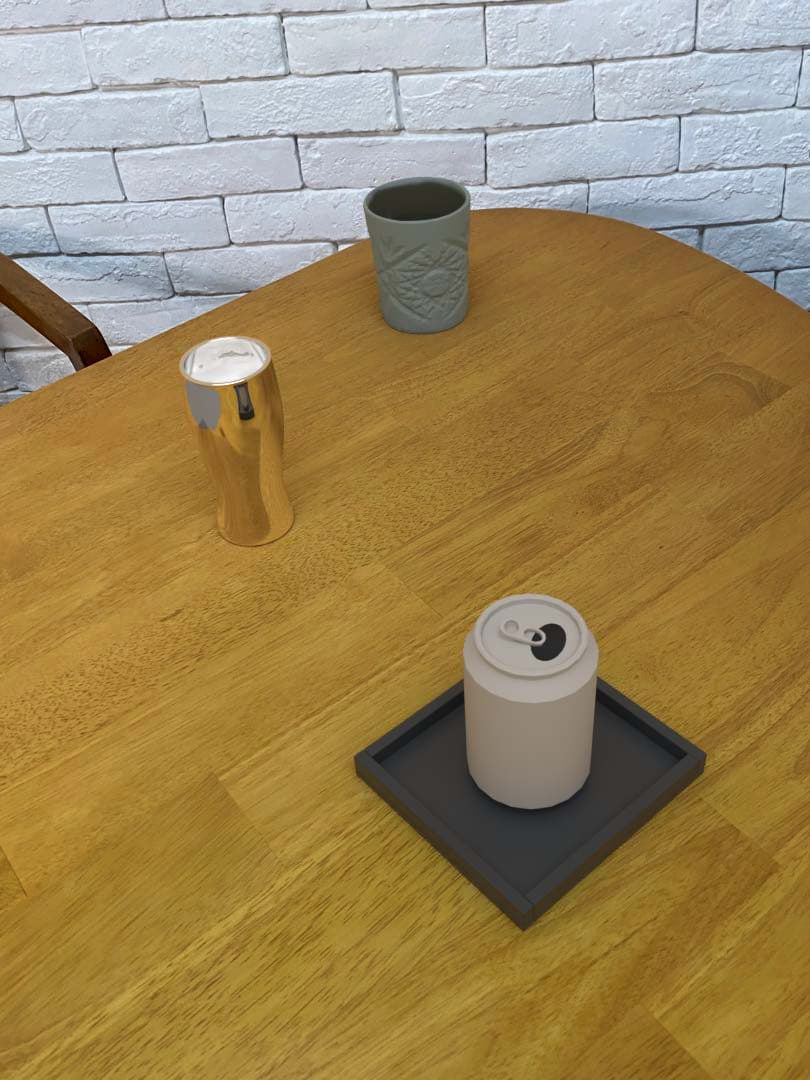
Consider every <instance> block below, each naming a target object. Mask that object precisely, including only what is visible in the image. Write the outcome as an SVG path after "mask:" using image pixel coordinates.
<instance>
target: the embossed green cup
mask: <svg viewBox="0 0 810 1080" xmlns="http://www.w3.org/2000/svg"><path fill="white" fill-rule="evenodd" d="M471 199H472V197H471V193H470V191H469V190H468V188H466V187H465V186H464V185H463V184H461V183H459V182H458V181H455V180H452V179H448V178H444V177H437V176H436V177H435V176H413V177H405V178H399V179H395V180H392V181H388V182H386V183H383V184H381V185H378V186H377V187H375V188H373V189H371V190H370V191H369V192H368V193H367V194H366V195H365V197H364V199H363V202H362V207H363V212H364V218H365V223H366V230H367V232H368V236H369V241H370V245H371V252H372V258H373V265H374V270H375V273H376V282H377V286H378V292H379V301H380V308H381V313H382V317H383V319H384V321H385V323H386V324H387V326H389V327H391V328H392V329H394V330H397V331H398V332H404V333H406V334H407V333H408V334H415V335H416V334H418V335H422V334H423V335H427V334H428V335H429V334H435V333H436V334H437V333H441V332H445V331H448V330H450V329H452V328H454V327H456V326H458V325H459V324H461V322H462V321H464V320H465V318H466V316H467V314H468V310H469V281H468V274H469V270H468V269H469V265H470V259H469V246H470V235H471V234H470V233H471V201H472V200H471Z"/></svg>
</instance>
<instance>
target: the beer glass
mask: <svg viewBox="0 0 810 1080" xmlns="http://www.w3.org/2000/svg"><path fill="white" fill-rule="evenodd" d="M178 369H179V373H180V380H181V381H180V382H181V389H182V390H181V391H182V396H183V403H184V407H185V414H186V418H187V422H188V427H189V430H190V434H191V436H192V439H193V442H194V444H195V446H196V447H195V448H196V449H197V452H198V454H199V456H200V458H201V460H202V463H203V465H204V467H205V469H206V471H207V474H208V476H209V478H210V480H211V484H212V486H213V488H214V492H215V497H216V524H217V529H218V532H219V534H220V536H222V538H223V539H224V540H226V541H228V542H229V543H232V544H235V545H238V546H243V547H256V546H262V545H266V544H269V543H273V542H274V541H277V540H279V539H280V538H281V537H283V536H285V534H286V533H287V532H288V531H289V530H290V529H291V527H292V526H293V524H294V521H295V512H294V508H293V505H292V503H291V501H290V497H289V495H288V493H287V490H286V487H285V483H284V475H283V466H284V464H283V463H284V446H285V445H284V441H285V419H284V408H283V400H282V395H281V389H280V385H279V382H278V377H277V373H276V370H275V365H274V362H273V357H272V351H271V349H270V347H269V346H268V345H267V344H266V343H264V342H263V341H262V340H259V339H257V338H254V337H251V336H245V335H225V336H224V335H223V336H218V337H214V338H210V339H206V340H204V341H201V342H199V343H197V344H195V345H194V346H192V347H190V348H189V349H188V350H186V352H185V353H184V354H183V355H182V356H181V358H180V360H179V362H178Z"/></svg>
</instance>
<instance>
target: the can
mask: <svg viewBox="0 0 810 1080" xmlns="http://www.w3.org/2000/svg"><path fill="white" fill-rule="evenodd" d="M463 644H464V645H463V650H462V667H463V669H462V671H463V672H462V673H463V678H464V697H465V722H466V746H467V761H468V766H469V771H470V774H471V776H472V777H473V779H474V780H475V782H476V784H477V785H478V787H479V788H480V789H481V790H483V791H484V792H485V793H486V794H487V795H489V796H490V797H491V798H492V799H494V800H496V801H499V802H501V803H504V804H506V805H508V806H511V807H517V808H525V809H537V808H545V807H552V806H554V805H556V804H558V803H561V802H563V801H565V800H567V799H569V798H570V797H571V796H573V795H574V794H575V793H576V792H577V791H578V790H579V789H580V788H582V786H583V784H584V782H585V780H586V778H587V777H588V775H589V772H590V762H591V750H592V736H593V723H594V709H595V696H596V682H597V676H598V668H599V654H600V650H599V646H598V644H597V641H596V638H595V635H594V633H593V632H592V631H591V630H590V629H589V628H588V625H587V623H586V621H585V618H584V617H583V616H582V615H581V614H580V612H579V611H578V610H577V609H576V608H574V606H572V605H570V604H569V603H567V602H565V601H564V600H562V599H560V598H556V597H553V596H550V595H547V594H538V593H529V592H528V593H522V594H513V595H509V596H507V597H503V598H500V599H498V600H496V601H494V602H493V603H491V604H490V605H489V606H487V607H486V608H485V609H483V610H482V612H481V614H479V616H478V617H477V619H476V621H475V623H474V625H473V626H472V628H470V630H469V631H468V634H467V635H466V636H465V639H464V643H463Z"/></svg>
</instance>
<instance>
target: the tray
mask: <svg viewBox="0 0 810 1080" xmlns="http://www.w3.org/2000/svg"><path fill="white" fill-rule="evenodd" d="M707 756H708V754H707V752H705V751H704V750H702V749H701V748H700V747H698V746H697V745H695V744H694V743H693V742H691V741H690V740H688V739H687V738H686V737H684V736H683V735H682V734H680V733H678V732H677V731H676V730H674V729H673V728H672V727H670V726H669V725H667V724H666V723H664V721H662V720H660V719H659V718H657V717H656V716H655V715H653V714H652V713H650V712H649V711H648V710H647V709H645V708H643V706H641V705H639V704H638V703H637V702H635V701H634V700H632V699H631V698H629V697H628V696H626V695H625V694H624V693H623V692H621V691H619V690H618V689H617V688H615V687H614V686H613V685H611V684H610V683H608V682H607V681H606V680H605V679H603V678H601V677H600V676H598V675H597V682H596V696H595V709H594V723H593V736H592V750H591V762H590V772H589V775H588V777H587V778H586V780H585V782H584V784H583V786H582V788H580V789H579V790H578V791H577V792H576V793H575V794H574V795H573V796H571V797H570V798H569V799H567V800H565V801H563V802H561V803H558V804H556V805H554V806H552V807H545V808H537V809H525V808H517V807H511V806H508V805H506V804H504V803H501V802H499V801H496V800H494V799H492V798H491V797H490V796H489V795H487V794H486V793H485V792H484V791H483V790H481V789H480V788H479V787H478V785H477V784H476V782H475V780H474V779H473V777H472V776H471V774H470V771H469V766H468V761H467V746H466V722H465V697H464V677H462V679H460V680H459V681H457V682H456V683H454V684H453V685H452V686H451V687H449V688H447V689H446V690H445V691H443V692H441V694H439V695H438V696H437V697H435V698H434V699H432V700H431V701H429V702H428V703H427V704H425V705H424V706H422V707H421V708H420V709H418V710H417V711H415V712H414V713H413V714H411V715H410V716H408V717H407V718H405V719H404V720H403V721H402V722H400V723H399V724H397V725H396V726H393V728H392V729H390V730H389V731H387V732H386V733H385V734H383V735H381V736H380V737H379V738H378V739H376V740H375V741H374V742H372V743H370V744H369V745H367V746H366V747H365V748H364V749H362V750H360V751H359V752H358V753H356V754H355V755H354V756H353V762H354V768H355V774H356V775H357V777H358V778H359V779H361V780H362V781H363V782H364V784H366V785H367V786H368V787H370V789H371V790H372V791H373V792H374V793H376V794H377V795H378V796H379V797H380V798H381V799H382V800H383V801H384V802H385V804H387V805H388V806H389V807H390V808H391V809H393V811H394V812H396V813H397V815H399V816H400V817H401V818H402V819H403V820H404V821H405V822H406V823H407V824H409V825H410V826H411V827H412V828H413V829H414V831H416V832H417V833H418V834H419V835H420V836H421V837H422V838H423V839H425V840H426V841H427V842H428V844H430V846H431V847H433V849H435V850H436V851H437V852H438V853H439V854H440V855H441V856H443V858H445V860H447V861H448V862H449V863H450V864H451V865H452V866H453V867H454V868H455V869H456V870H457V871H459V872H460V874H462V875H463V876H464V877H465V878H466V879H467V880H468V881H469V882H470V883H471V884H472V885H473V886H475V888H477V889H478V891H480V892H481V894H482V895H484V896H485V897H486V898H487V899H488V900H490V902H491V903H492V904H494V905H495V906H496V908H498V909H499V910H501V912H502V913H503V914H504V915H505V916H506V917H507V918H508V919H509V920H510V921H512V922H513V923H514V924H515V925H516V926H517V927H518V928H519V929H520V930H521V931H522V932H525V931H526V930H527V929H528V928H529V927H530V926H532V925H533V924H534V923H536V921H538V920H539V918H541V916H543V915H544V914H545V913H547V911H548V910H550V909H551V908H552V907H554V905H556V904H557V902H558V901H560V900H561V899H562V898H564V896H565V895H567V894H568V893H570V891H571V890H572V889H574V888H575V886H577V885H578V884H579V883H580V882H581V881H582V880H584V879H585V878H586V877H587V876H588V875H589V874H590V873H592V871H594V870H595V869H596V868H597V867H598V866H599V865H600V864H601V863H603V862H604V861H605V860H606V859H607V858H608V857H610V856H611V855H612V854H613V853H614V852H615V851H616V850H617V849H618V848H620V847H621V846H622V845H624V843H625V842H627V840H629V839H630V838H631V837H632V836H633V835H635V834H636V832H638V831H639V830H640V829H641V828H642V827H643V826H645V825H646V824H647V823H648V822H649V821H650V820H651V819H653V818H654V817H655V816H656V815H657V814H658V813H659V812H661V810H662V809H664V808H665V807H666V806H667V805H668V804H670V802H672V801H673V800H674V799H675V798H676V797H677V796H679V795H680V794H681V793H682V792H683V791H684V790H685V789H686V788H688V787H689V786H690V785H691V784H692V783H694V781H695V780H696V779H698V778H699V777H700V776H701V775H702V774H703V773H705V767H706V762H707Z"/></svg>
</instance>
